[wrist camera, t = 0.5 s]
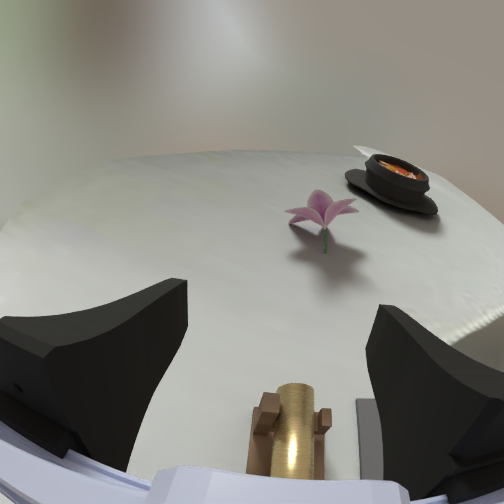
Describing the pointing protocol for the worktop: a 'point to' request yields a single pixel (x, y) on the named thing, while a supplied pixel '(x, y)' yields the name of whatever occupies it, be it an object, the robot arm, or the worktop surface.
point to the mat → (369, 440)
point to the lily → (321, 210)
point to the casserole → (394, 183)
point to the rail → (294, 433)
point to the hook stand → (265, 430)
